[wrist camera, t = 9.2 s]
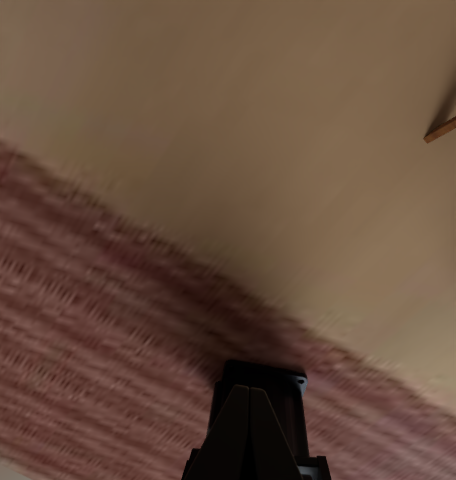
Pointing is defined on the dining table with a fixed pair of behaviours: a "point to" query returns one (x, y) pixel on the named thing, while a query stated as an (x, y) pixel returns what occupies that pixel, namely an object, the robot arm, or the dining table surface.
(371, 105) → the dining table surface
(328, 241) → the dining table surface
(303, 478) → the robot arm
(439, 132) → the glasses
